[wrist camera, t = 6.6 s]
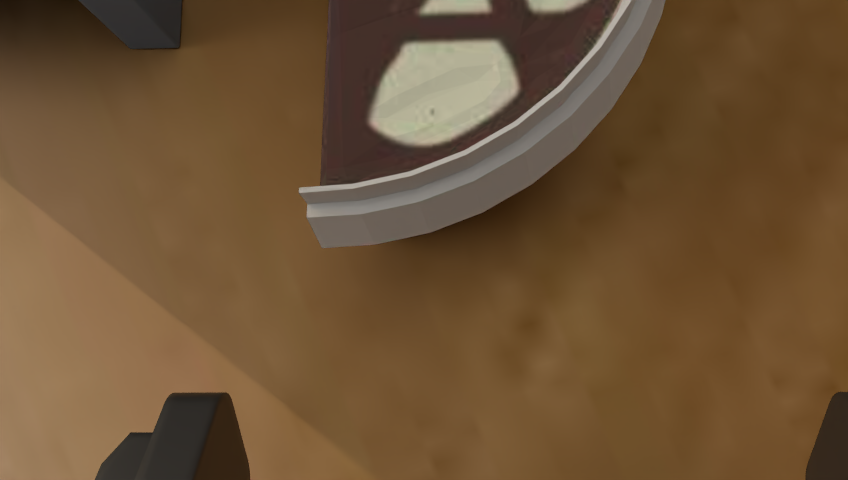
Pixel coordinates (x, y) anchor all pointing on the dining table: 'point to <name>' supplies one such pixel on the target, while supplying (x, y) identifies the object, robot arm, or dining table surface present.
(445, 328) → the dining table surface
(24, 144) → the dining table surface
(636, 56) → the food container
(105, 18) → the blue toy chair
